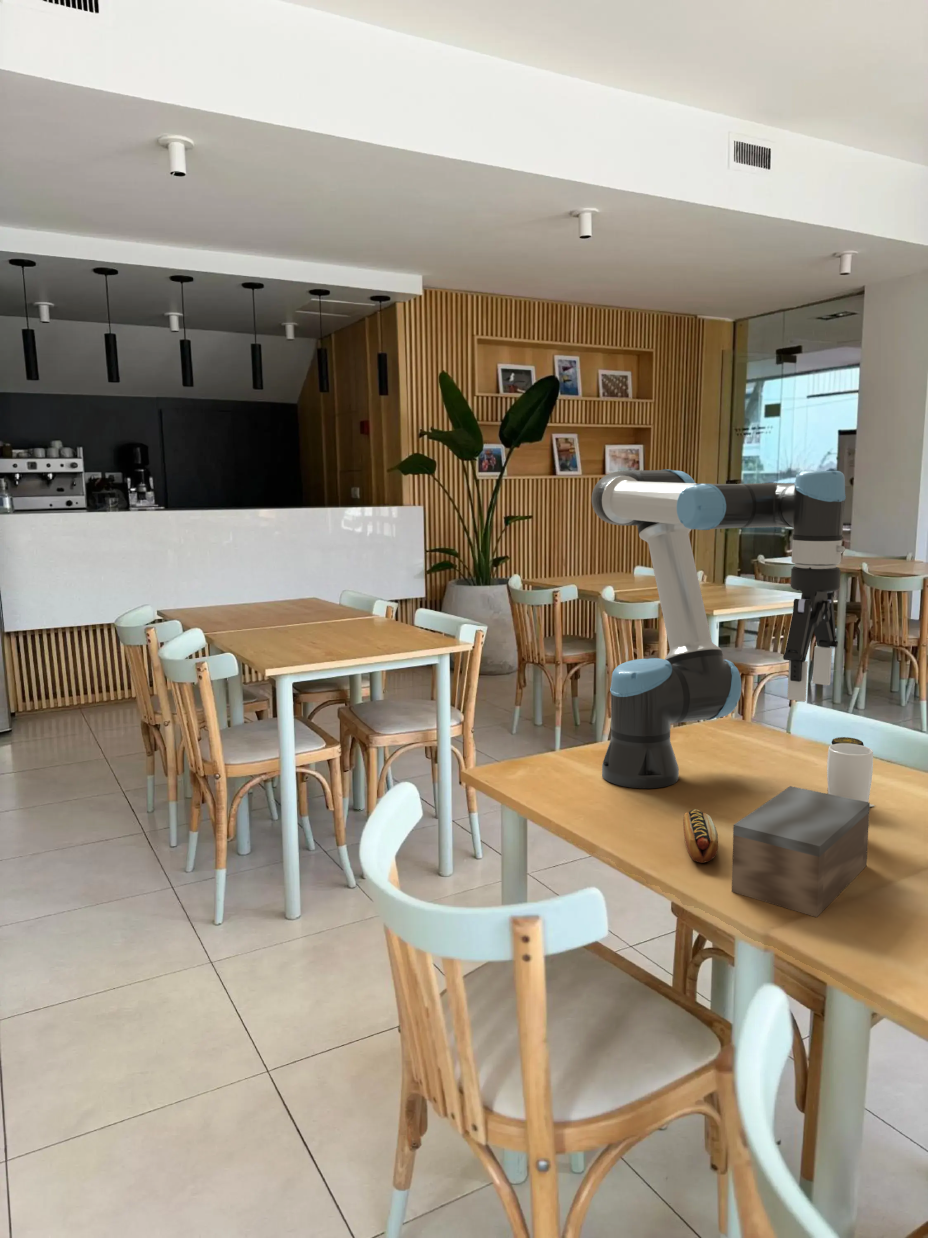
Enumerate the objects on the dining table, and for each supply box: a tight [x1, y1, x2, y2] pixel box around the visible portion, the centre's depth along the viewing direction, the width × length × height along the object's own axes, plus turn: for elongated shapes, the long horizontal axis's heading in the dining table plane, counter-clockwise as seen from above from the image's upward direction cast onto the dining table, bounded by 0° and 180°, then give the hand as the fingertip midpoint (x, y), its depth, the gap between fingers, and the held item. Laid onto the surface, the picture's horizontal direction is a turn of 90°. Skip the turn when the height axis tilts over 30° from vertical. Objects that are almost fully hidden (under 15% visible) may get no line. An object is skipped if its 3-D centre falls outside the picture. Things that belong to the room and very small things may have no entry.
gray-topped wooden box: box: [731, 785, 871, 918], centre depth 128 cm, size 12×21×10 cm, turn 139°
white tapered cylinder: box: [826, 743, 874, 803], centre depth 142 cm, size 7×7×15 cm
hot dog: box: [682, 809, 719, 864], centre depth 138 cm, size 5×13×5 cm, turn 170°
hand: (809, 692), depth 146 cm, fingers open, 13 cm apart
